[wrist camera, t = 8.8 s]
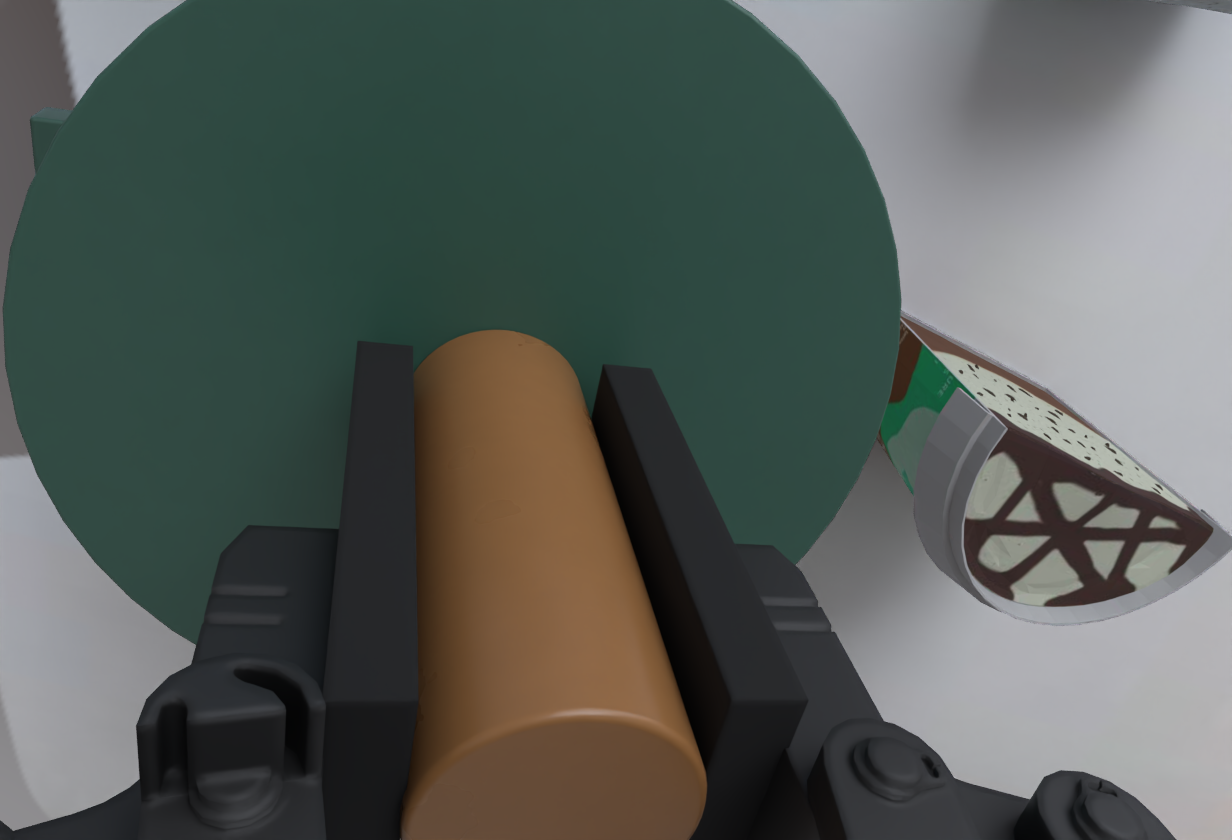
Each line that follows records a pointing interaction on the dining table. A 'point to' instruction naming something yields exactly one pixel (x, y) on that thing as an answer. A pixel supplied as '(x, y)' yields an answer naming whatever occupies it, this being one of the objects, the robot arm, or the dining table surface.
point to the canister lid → (459, 340)
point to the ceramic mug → (1203, 4)
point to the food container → (1032, 492)
